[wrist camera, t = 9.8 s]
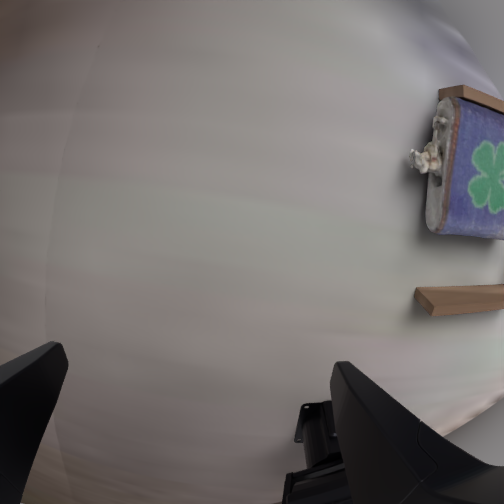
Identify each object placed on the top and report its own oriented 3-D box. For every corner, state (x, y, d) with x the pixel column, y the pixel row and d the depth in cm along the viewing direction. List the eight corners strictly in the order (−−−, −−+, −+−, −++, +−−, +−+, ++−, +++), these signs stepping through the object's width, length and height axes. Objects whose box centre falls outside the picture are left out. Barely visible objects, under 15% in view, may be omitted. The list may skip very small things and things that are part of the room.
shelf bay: (507, 291, 22) (525, 305, 19) (413, 296, 21) (431, 316, 19) (534, 127, 16) (557, 129, 13) (439, 89, 16) (463, 84, 13)
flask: (520, 246, 17) (412, 236, 17) (500, 232, 19) (395, 221, 20) (540, 128, 13) (430, 84, 13) (516, 124, 16) (409, 88, 16)
